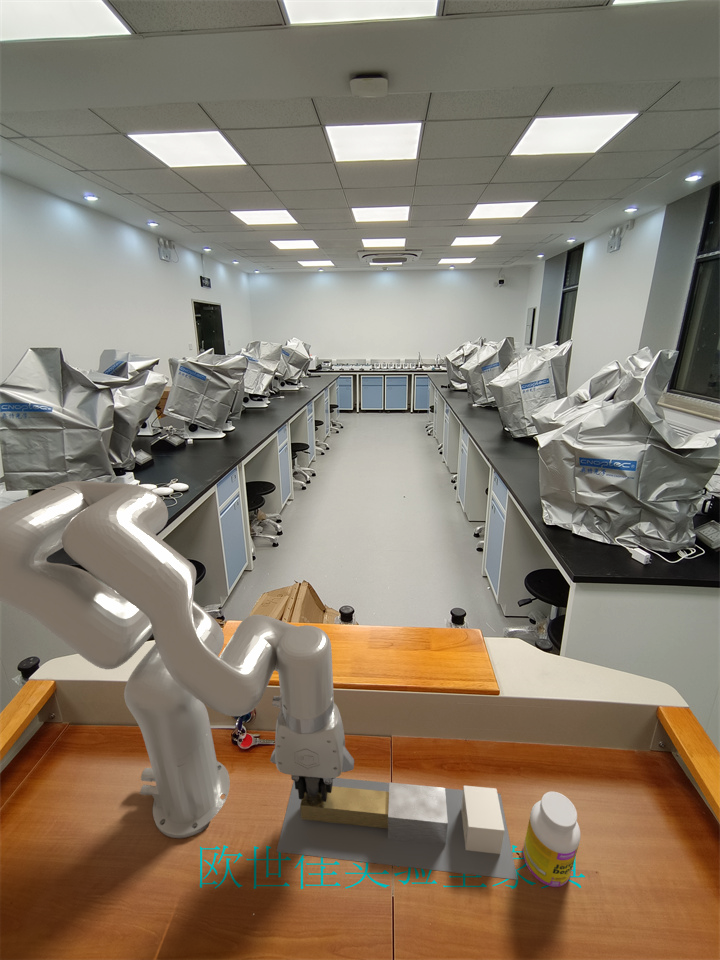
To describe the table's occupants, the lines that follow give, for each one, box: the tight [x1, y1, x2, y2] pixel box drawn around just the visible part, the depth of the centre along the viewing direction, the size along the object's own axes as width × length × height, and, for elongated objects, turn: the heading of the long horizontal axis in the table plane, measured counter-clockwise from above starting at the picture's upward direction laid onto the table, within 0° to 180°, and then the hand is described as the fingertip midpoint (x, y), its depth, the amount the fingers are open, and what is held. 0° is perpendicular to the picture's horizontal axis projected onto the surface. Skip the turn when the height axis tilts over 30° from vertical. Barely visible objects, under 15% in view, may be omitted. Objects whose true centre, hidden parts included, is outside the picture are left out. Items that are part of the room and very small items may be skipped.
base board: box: [276, 777, 518, 881], centre depth 69 cm, size 36×12×1 cm, turn 84°
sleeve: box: [388, 782, 448, 845], centre depth 68 cm, size 9×5×5 cm, turn 84°
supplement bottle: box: [522, 791, 581, 888], centre depth 62 cm, size 7×7×13 cm
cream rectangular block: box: [461, 785, 505, 854], centre depth 67 cm, size 5×6×6 cm
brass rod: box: [300, 776, 389, 828], centre depth 67 cm, size 22×3×9 cm, turn 84°
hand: (314, 790), depth 68 cm, fingers closed on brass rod, 3 cm apart
